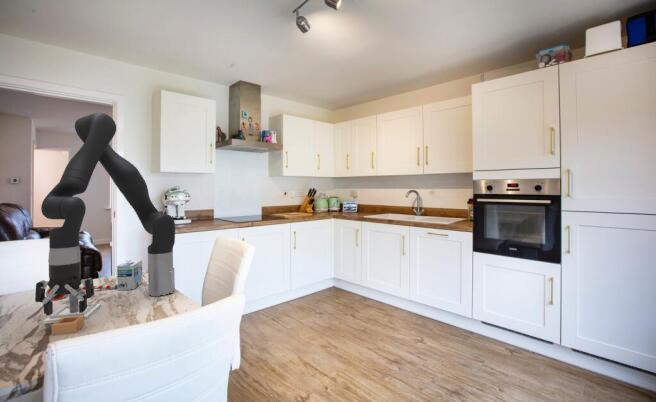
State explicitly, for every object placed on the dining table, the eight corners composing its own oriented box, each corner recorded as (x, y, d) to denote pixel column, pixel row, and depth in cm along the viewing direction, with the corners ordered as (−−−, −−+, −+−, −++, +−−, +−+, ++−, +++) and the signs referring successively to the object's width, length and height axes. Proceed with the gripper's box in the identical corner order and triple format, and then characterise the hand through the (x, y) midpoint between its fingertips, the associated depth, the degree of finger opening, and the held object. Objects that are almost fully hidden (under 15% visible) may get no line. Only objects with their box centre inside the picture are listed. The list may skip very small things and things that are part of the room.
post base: (101, 306, 116) (100, 285, 116) (86, 319, 105) (85, 295, 104) (62, 309, 113) (61, 287, 112) (43, 323, 101) (42, 299, 101)
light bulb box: (134, 290, 134) (133, 265, 134) (116, 291, 133) (116, 266, 132) (143, 282, 145) (142, 259, 144) (127, 283, 143) (126, 260, 143)
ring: (84, 324, 101) (84, 315, 101) (75, 332, 95) (75, 322, 95) (62, 326, 99) (62, 317, 99) (51, 335, 94) (51, 325, 93)
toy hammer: (120, 285, 142) (119, 271, 141) (116, 293, 131) (116, 278, 131) (55, 293, 131) (54, 278, 131) (46, 302, 121) (45, 286, 121)
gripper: (97, 257, 102) (97, 306, 102) (44, 259, 98) (45, 310, 99) (86, 262, 95) (87, 315, 95) (28, 265, 91) (29, 320, 91)
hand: (65, 313), depth 97 cm, fingers open, 8 cm apart
